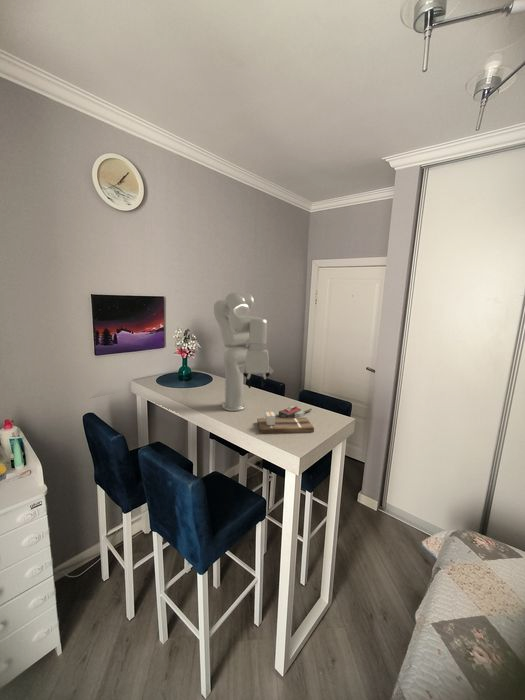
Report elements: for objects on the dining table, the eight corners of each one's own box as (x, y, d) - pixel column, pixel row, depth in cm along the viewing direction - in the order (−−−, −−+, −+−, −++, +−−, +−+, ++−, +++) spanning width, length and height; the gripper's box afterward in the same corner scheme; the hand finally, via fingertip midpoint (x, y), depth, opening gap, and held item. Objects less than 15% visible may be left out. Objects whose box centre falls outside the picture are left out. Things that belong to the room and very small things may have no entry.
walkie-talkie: (289, 422, 149) (313, 412, 163) (290, 413, 148) (313, 404, 162) (275, 417, 154) (299, 407, 169) (276, 408, 154) (300, 400, 168)
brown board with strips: (257, 422, 146) (257, 418, 146) (306, 421, 150) (306, 417, 149) (260, 433, 134) (260, 429, 134) (313, 432, 138) (314, 427, 137)
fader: (265, 420, 143) (265, 411, 142) (272, 420, 143) (273, 411, 142) (266, 425, 138) (267, 416, 137) (274, 424, 138) (275, 415, 138)
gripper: (238, 348, 128) (237, 389, 132) (278, 348, 131) (276, 389, 134) (237, 345, 136) (236, 384, 139) (275, 345, 138) (273, 384, 141)
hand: (256, 386), depth 137 cm, fingers open, 5 cm apart
